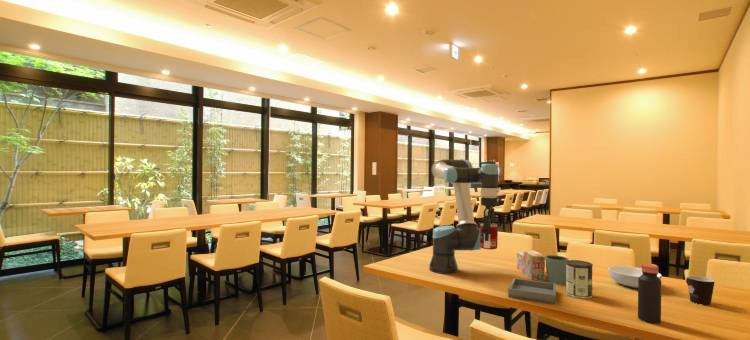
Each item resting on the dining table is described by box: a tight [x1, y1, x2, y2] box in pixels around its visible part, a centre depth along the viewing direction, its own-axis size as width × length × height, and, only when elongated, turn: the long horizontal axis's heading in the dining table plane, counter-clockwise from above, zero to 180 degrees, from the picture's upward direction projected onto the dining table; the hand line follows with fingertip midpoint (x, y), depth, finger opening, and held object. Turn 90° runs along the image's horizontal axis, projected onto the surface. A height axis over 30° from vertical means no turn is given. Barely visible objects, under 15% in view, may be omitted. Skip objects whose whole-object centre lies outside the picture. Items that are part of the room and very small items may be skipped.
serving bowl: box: [608, 265, 662, 289], centre depth 176 cm, size 21×21×7 cm
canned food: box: [479, 222, 499, 250], centre depth 171 cm, size 8×8×11 cm
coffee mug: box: [685, 275, 715, 306], centre depth 155 cm, size 12×9×10 cm
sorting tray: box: [508, 277, 557, 305], centre depth 162 cm, size 18×18×4 cm
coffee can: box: [565, 259, 594, 300], centre depth 162 cm, size 10×10×14 cm
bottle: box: [637, 263, 662, 324], centre depth 135 cm, size 7×7×20 cm
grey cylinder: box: [544, 254, 569, 286], centre depth 181 cm, size 10×10×12 cm
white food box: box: [516, 250, 546, 281], centre depth 193 cm, size 21×6×12 cm, turn 178°
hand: (488, 246), depth 171 cm, fingers closed on canned food, 8 cm apart
